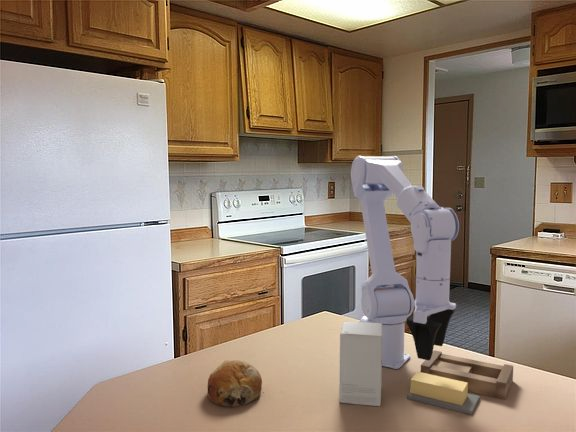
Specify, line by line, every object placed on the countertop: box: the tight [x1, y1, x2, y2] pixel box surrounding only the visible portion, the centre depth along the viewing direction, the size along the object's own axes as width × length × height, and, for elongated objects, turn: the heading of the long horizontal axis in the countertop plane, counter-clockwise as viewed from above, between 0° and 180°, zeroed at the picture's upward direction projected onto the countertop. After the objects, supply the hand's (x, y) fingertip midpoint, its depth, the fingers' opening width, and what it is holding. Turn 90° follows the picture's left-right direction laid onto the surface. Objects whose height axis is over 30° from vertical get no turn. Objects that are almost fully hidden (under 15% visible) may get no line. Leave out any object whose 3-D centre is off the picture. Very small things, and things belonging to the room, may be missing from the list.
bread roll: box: [206, 359, 263, 408], centre depth 89 cm, size 10×10×8 cm
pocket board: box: [420, 349, 514, 400], centre depth 94 cm, size 15×9×3 cm, turn 58°
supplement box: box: [338, 321, 383, 407], centre depth 88 cm, size 7×7×13 cm
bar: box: [410, 371, 469, 405], centre depth 87 cm, size 9×4×2 cm, turn 58°
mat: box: [406, 390, 480, 416], centre depth 87 cm, size 11×6×1 cm, turn 58°
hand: (430, 351), depth 88 cm, fingers open, 7 cm apart
